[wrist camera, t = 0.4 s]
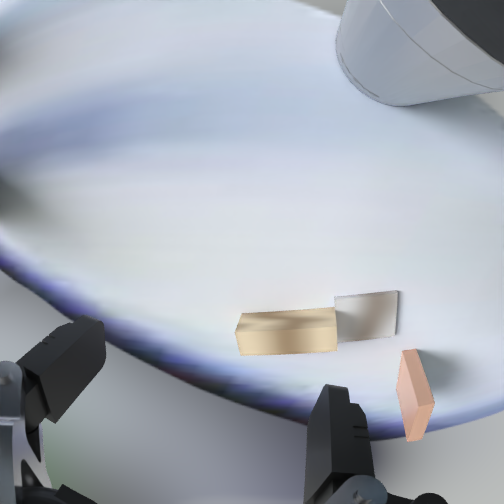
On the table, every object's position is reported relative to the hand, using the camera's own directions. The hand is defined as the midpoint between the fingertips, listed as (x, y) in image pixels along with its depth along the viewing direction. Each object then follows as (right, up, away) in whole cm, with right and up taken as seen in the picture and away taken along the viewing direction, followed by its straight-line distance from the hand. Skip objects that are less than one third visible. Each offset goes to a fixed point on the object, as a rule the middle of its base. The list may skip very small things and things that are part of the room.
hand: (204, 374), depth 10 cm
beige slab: (+8, -2, +19) cm, 21 cm away
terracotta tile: (+19, -9, +20) cm, 29 cm away
